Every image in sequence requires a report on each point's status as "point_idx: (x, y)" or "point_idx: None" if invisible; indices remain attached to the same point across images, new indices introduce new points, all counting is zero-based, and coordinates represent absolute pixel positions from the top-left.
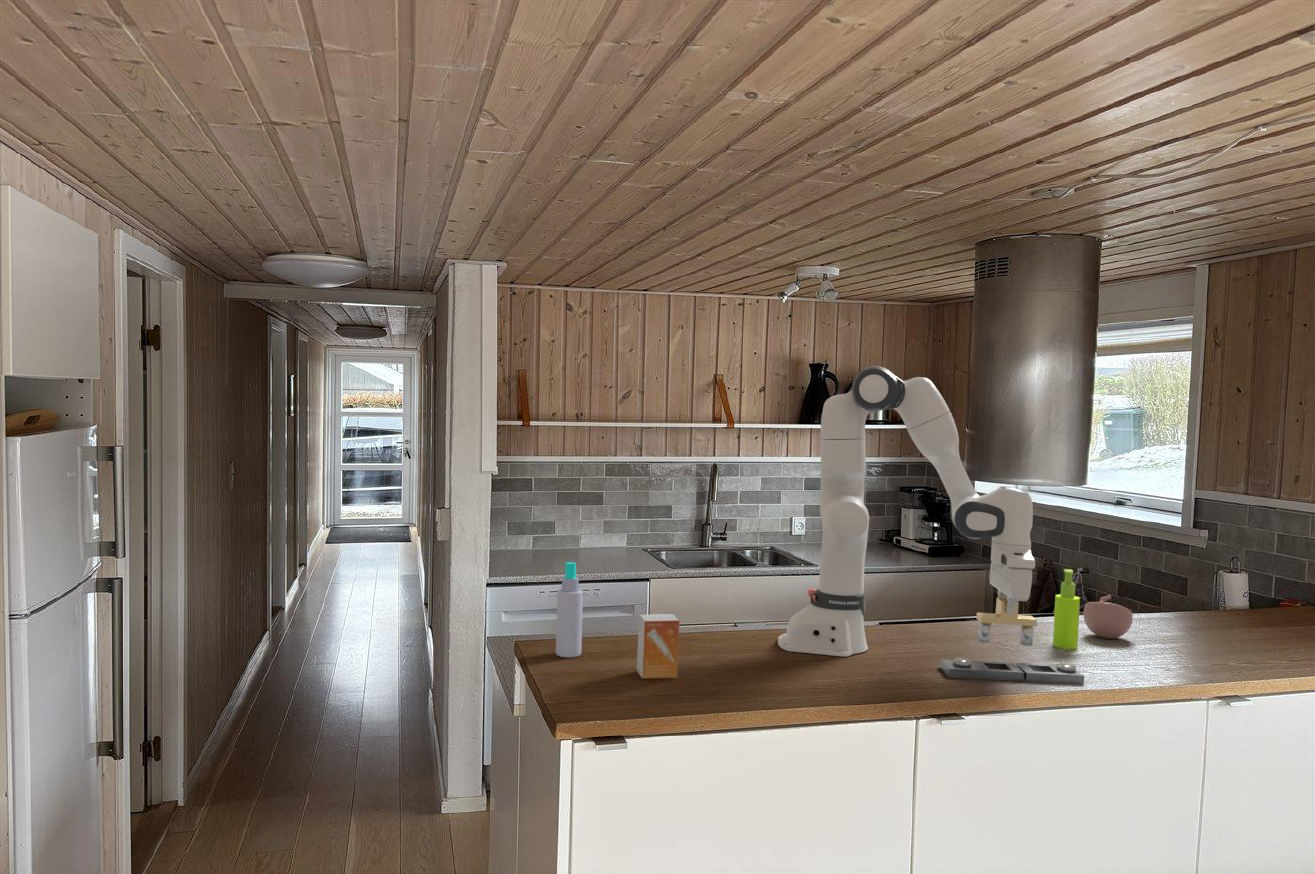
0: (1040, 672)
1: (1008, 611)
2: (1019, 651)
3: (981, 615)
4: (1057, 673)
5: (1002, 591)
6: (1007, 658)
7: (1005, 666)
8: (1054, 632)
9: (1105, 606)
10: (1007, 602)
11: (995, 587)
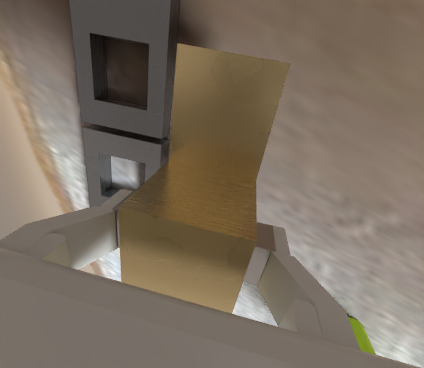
0: (92, 161)
1: (116, 197)
2: (324, 235)
3: (203, 58)
4: (93, 192)
5: (78, 280)
6: (271, 177)
7: (146, 109)
8: (359, 346)
9: None
10: (123, 237)
11: (391, 359)
